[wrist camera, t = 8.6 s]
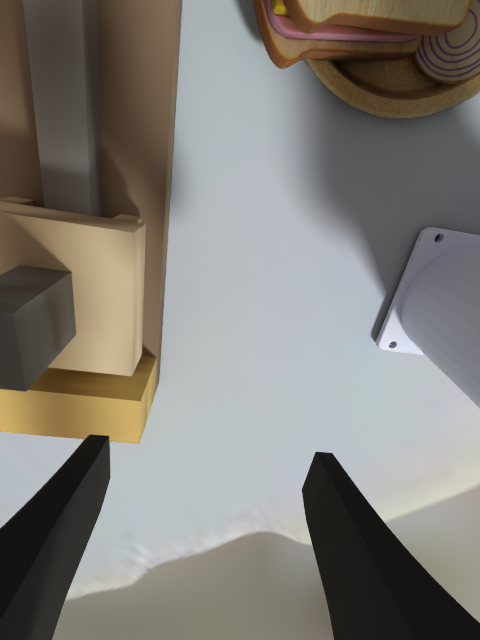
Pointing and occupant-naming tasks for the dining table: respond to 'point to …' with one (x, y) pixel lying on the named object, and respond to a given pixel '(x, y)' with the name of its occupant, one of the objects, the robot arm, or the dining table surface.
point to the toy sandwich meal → (380, 50)
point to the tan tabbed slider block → (68, 292)
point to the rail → (124, 127)
